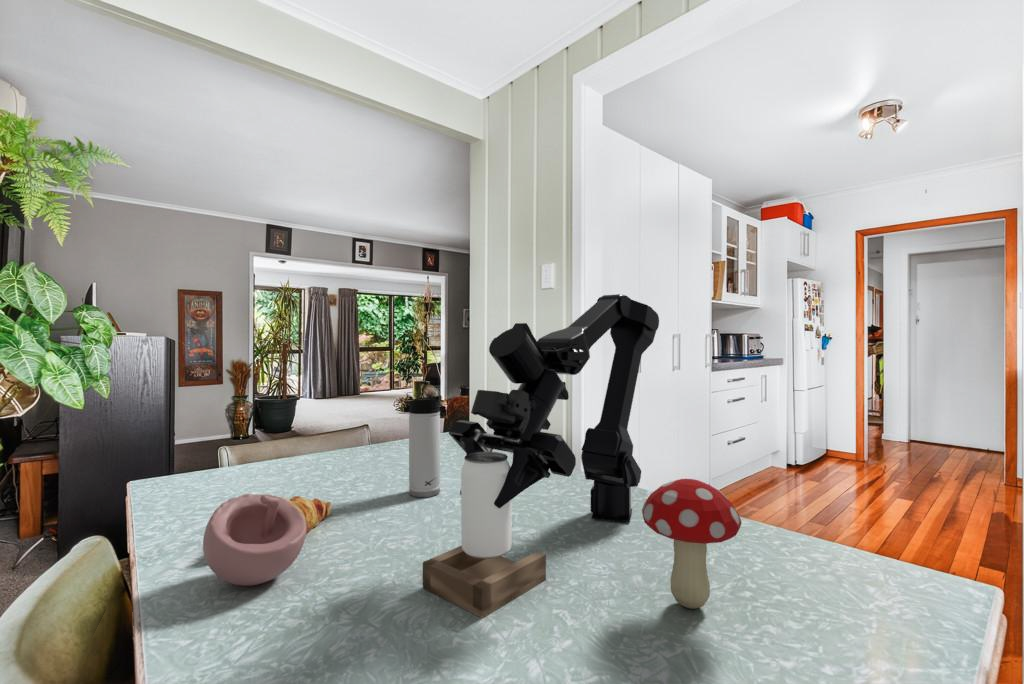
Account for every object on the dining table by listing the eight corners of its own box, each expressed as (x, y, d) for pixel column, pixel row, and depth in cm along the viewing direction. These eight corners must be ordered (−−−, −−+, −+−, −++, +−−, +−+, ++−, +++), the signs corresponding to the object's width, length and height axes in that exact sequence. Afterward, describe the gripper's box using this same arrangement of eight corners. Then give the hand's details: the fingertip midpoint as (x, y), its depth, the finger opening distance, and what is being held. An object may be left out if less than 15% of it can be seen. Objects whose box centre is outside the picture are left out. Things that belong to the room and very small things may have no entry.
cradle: (487, 556, 73) (487, 534, 73) (545, 579, 66) (545, 554, 66) (422, 588, 64) (422, 562, 64) (482, 618, 57) (482, 589, 57)
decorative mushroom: (647, 577, 66) (647, 464, 66) (739, 593, 62) (740, 473, 62) (634, 621, 56) (634, 487, 56) (743, 644, 52) (743, 499, 52)
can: (504, 536, 69) (504, 449, 69) (517, 556, 63) (516, 461, 62) (458, 541, 67) (457, 452, 67) (466, 563, 61) (465, 464, 61)
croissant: (318, 532, 92) (303, 490, 93) (356, 513, 88) (340, 470, 90) (204, 580, 72) (188, 527, 74) (246, 559, 69) (229, 503, 70)
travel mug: (435, 498, 99) (435, 397, 99) (404, 496, 100) (403, 397, 100) (445, 489, 105) (445, 394, 105) (416, 487, 107) (416, 393, 106)
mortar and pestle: (240, 614, 58) (240, 515, 58) (183, 589, 64) (182, 499, 63) (325, 572, 68) (325, 487, 68) (269, 553, 74) (269, 476, 74)
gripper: (457, 365, 74) (396, 454, 65) (562, 370, 62) (504, 480, 53) (494, 411, 80) (442, 498, 72) (596, 424, 68) (548, 531, 59)
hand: (478, 501), depth 64 cm, fingers closed on can, 6 cm apart
